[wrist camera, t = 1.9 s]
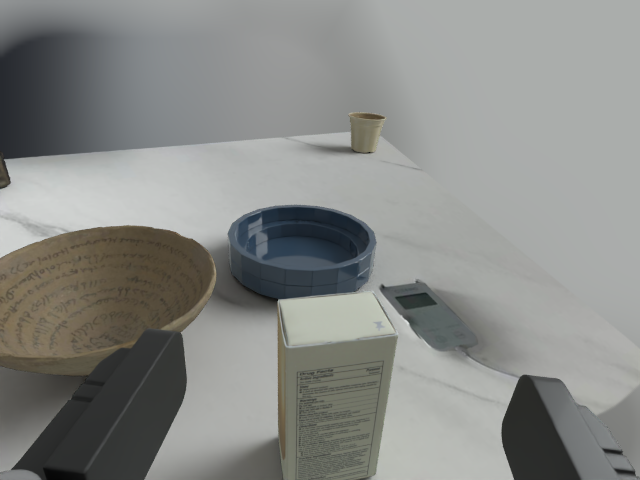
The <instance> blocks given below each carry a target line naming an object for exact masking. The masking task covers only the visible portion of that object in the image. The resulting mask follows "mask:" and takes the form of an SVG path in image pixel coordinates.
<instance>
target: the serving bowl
mask: <svg viewBox="0 0 640 480" xmlns="http://www.w3.org/2000/svg"><path fill="white" fill-rule="evenodd" d="M375 250H376V238H375V235H374V232H373V231H372V230H371V229H370V228H369V227H368V226H367V224H366V223H364V222H362V221H361V220H359V219H357V218H355V217H354V216H352V215H349V214H346V213H343V212H340V211H337V210H334V209H329V208H324V207H318V206H307V205H284V206H273V207H268V208H263V209H258V210H255V211H253V212H250V213H248V214H245V215H243V216H242V217H240V218H239V219H238V220H236V221H235V222H234V223H232V225H231V227H230V230H229V232H228V253H229V264H230V269H231V273H232V274H233V275H234V276H235V277H236V279H237V280H238V281H239V282H240V283H241V284H242V285H244V286H246V287H247V288H249V289H251V290H253V291H255V292H257V293H259V294H261V295H265V296H269V297H273V298H276V299H291V298H299V297H309V296H318V295H328V294H340V293H352V292H354V291H356V290H357V289H359V288H360V287H361V286H362V285H364V284H365V283H366V282H367V281H368V279H369V277H370V275H371V273H372V270H373V263H374V256H375Z"/></svg>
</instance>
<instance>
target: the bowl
mask: <svg viewBox="0 0 640 480" xmlns="http://www.w3.org/2000/svg"><path fill="white" fill-rule="evenodd" d="M215 282H216V267H215V263H214V260H213V258H212V256H211V255H210V253H209V252H208V250H206V249H205V248H204V247H203V246H202V245H201V244H199V243H198V242H196V241H195V240H193V239H189V238H186V237H183V236H181V235H179V234H178V233H176V232H173V231H170V230H163V229H155V228H152V227H146V226H129V225H126V226H111V227H104V228H103V227H97V228H92V229H85V230H79V231H74V232H69V233H64V234H61V235H58V236H54V237H51V238H48V239H44V240H42V241H40V242H36V243H33V244H30V245H28V246H25V247H23V248H21V249H18V250H16V251H13V252H11V253H9V254H7V255H5V256H4V257H2V258H0V366H3V367H7V368H11V369H15V370H20V371H27V372H34V373H44V374H57V375H68V376H84V375H90V373H91V372H92V371H93V370H94V369H95V367H96V366H97V365H98V364H99V362H100V361H102V360H103V359H105V358H106V357H108V356H109V355H111V354H112V353H114V352H115V351H117V350H118V349H120V348H121V347H122V348H130V349H131V348H132V347H133V345H134V344H135V343H136V341H137V340H138V339H139V337H140V336H141V335H142V333H143V332H144V331H145V330H146V329H148V328H152V329H160V330H168V331H177V332H181V331H183V330H184V329H185V328H186V327H187V326H188V325H189V324H190V323H191V322H193V321H194V320H195V318H196V317H197V316H198V315H199V313H200V312H201V311H202V309H203V308H204V306H205V305H206V303H207V302H208V300H209V298H210V296H211V294H212V292H213V289H214V286H215Z"/></svg>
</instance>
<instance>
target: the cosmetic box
mask: <svg viewBox="0 0 640 480" xmlns="http://www.w3.org/2000/svg"><path fill="white" fill-rule="evenodd" d="M277 309H278V438H279V448H280V457H281V466H282V473H283V480H357V479H361V478H366V477H370V476H374V475H375V474H376V468H377V462H378V456H379V449H380V443H381V437H382V431H383V425H384V419H385V412H386V406H387V400H388V394H389V387H390V381H391V375H392V369H393V363H394V357H395V350H396V344H397V339H398V333H397V331H396V329H395V327H394V325H393V323H392V322H391V320H390V318H389V316H388V315H387V313H386V311H385V309H384V307H383V306H382V304H381V302H380V301H379V299H378V298H377V296H376V295H375V293H374V292H373V291H366V292H352V293H340V294H328V295H318V296H309V297H299V298H291V299H280V300H278V302H277Z"/></svg>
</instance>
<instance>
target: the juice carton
mask: <svg viewBox="0 0 640 480" xmlns="http://www.w3.org/2000/svg"><path fill="white" fill-rule="evenodd" d="M10 182H11V181H10V177H9V175H8V171H7V168H6V163H5V161H4V156H3V153H2V152H1V151H0V188H3V187H6V186H7V185H9V184H10Z"/></svg>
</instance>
